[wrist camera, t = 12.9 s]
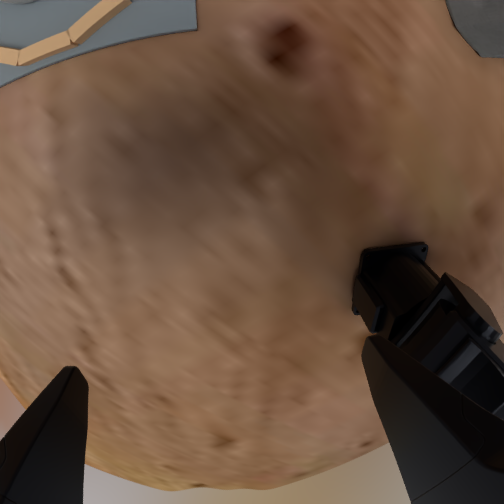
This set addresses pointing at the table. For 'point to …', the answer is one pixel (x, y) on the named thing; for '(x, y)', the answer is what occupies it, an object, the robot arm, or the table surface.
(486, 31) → the coffeepot
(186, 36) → the table surface
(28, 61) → the collar mat
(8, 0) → the cup
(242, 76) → the table surface
